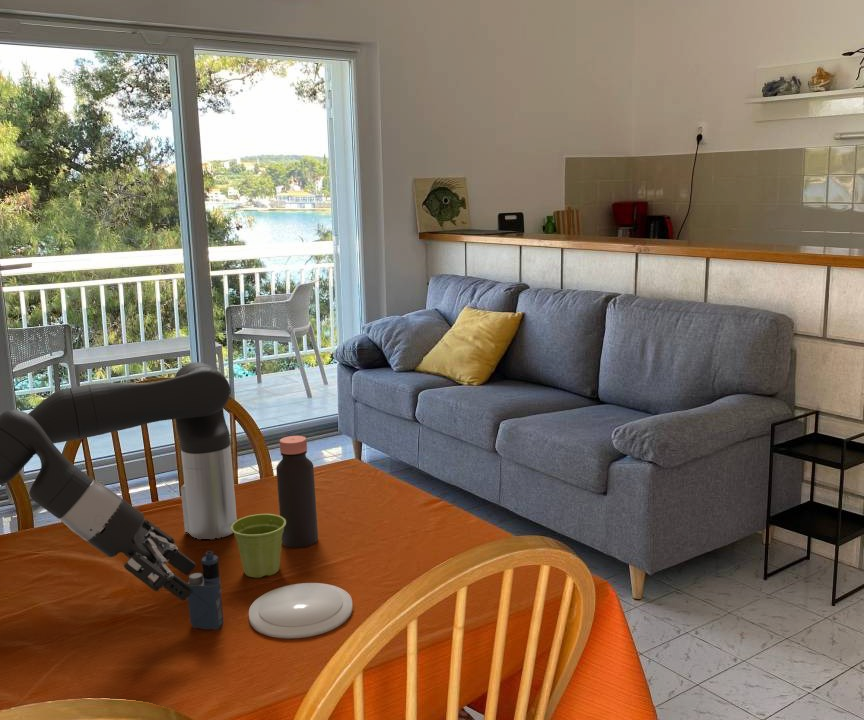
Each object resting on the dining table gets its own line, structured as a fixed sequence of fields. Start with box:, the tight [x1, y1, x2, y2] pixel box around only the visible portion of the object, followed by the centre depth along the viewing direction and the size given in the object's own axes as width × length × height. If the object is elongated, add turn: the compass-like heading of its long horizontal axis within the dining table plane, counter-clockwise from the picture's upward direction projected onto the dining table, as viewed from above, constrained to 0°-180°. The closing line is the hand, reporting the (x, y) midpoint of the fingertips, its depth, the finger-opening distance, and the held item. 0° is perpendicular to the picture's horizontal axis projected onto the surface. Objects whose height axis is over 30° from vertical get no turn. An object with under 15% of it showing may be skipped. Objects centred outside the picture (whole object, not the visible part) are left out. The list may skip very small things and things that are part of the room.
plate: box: [248, 582, 353, 639], centre depth 134 cm, size 16×16×1 cm
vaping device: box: [187, 550, 224, 631], centre depth 130 cm, size 3×5×12 cm, turn 79°
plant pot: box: [231, 513, 286, 579], centre depth 148 cm, size 9×9×9 cm
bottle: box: [275, 435, 319, 549], centre depth 159 cm, size 7×7×20 cm
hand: (190, 582), depth 128 cm, fingers open, 8 cm apart
